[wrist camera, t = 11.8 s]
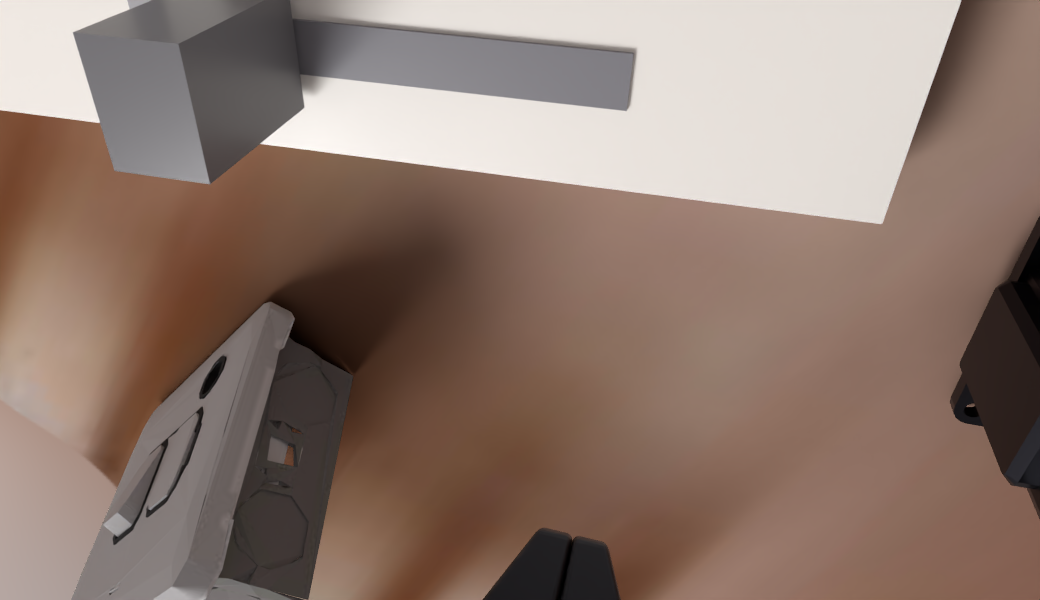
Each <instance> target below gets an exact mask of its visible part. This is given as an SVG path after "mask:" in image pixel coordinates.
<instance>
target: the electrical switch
mask: <svg viewBox="0 0 1040 600" xmlns="http://www.w3.org/2000/svg"><path fill="white" fill-rule="evenodd" d="M294 320H295V318H294V316H293V314H292V312H290V311H288V310H286V309H284V308H282V307H280V306H278V305H276V304H274V303H272V302H268V303H264V304H263V305H262V306H261V307H260V308H259V309H258V310H257V311H256V312H255V313H254V314H253V315H252V316H251V317H250V318H249V319H248V320H247V321H246V322H245V323H244V324H243V325H242V326H240V327H239V328H238V329H237V330H236V331H235V332H234V333H233V334H232V335H231V336H230V337H229V338H228V339H227V340H226V341H225V342H224V343H223V344H222V345H221V346H220V347H219V348H218V349H217V350H216V351H215V352H214V353H213V354H212V355H211V356H210V357H209V358H208V359H207V360H206V361H205V362H204V363H203V364H202V365H201V366H200V367H199V368H198V369H197V370H196V371H195V372H194V373H193V374H192V375H191V376H190V377H188V378H187V379H186V380H185V381H184V382H183V383H182V384H181V385H180V386H179V387H178V388H177V389H176V390H175V391H174V392H173V393H172V394H171V395H170V396H169V397H168V398H167V399H166V400H165V401H164V402H163V403H162V404H161V405H160V406H159V407H158V408H157V409H156V410H155V411H154V412H153V414H152V415H151V417H150V419H149V420H148V422H147V424H146V425H145V427H144V429H143V431H142V433H141V436H140V438H139V440H138V442H137V444H136V446H135V449H134V451H133V453H132V455H131V458H130V460H129V462H128V465H127V467H126V469H125V472H124V474H123V477H122V479H121V481H120V484H119V486H118V488H117V491H116V493H115V496H114V498H113V501H112V503H111V505H110V508H109V510H108V512H107V515H106V517H105V520H104V522H103V524H102V526H101V529H100V531H99V534H98V536H97V538H96V541H95V543H94V545H93V548H92V550H91V553H90V555H89V557H88V560H87V562H86V564H85V567H84V569H83V572H82V574H81V576H80V579H79V582H78V584H77V587H76V590H75V592H74V594H73V597H72V600H303V599H307V600H308V598H309V593H310V588H311V583H312V579H313V574H314V569H315V564H316V559H317V554H318V549H319V544H320V539H321V534H322V529H323V524H324V519H325V514H326V509H327V504H328V499H329V494H330V489H331V484H332V479H333V474H334V469H335V464H336V459H337V455H338V450H339V445H340V440H341V435H342V430H343V425H344V420H345V415H346V410H347V405H348V400H349V395H350V390H351V385H352V380H353V376H352V375H350V374H349V373H347V372H345V371H343V370H341V369H340V368H338V367H336V366H334V365H332V364H330V363H328V362H326V361H324V360H323V359H321V358H320V357H319V356H318V355H316V354H315V353H314V352H313V351H312V350H310V349H308V348H306V347H304V346H302V345H300V344H297V343H295V342H294V341H293V340H292V339H291V338H290V337H288V336H289V333H290V331H291V328H292V325H293V322H294ZM330 420H331V421H330ZM292 428H295V429H296V430H298V431H299V432H301V433H302V434H299V433H294V432H292ZM288 445H289V446H291V447H292V448H293V451H294V466H289V465H285V464H284V460H285V456H286V452H287V448H288ZM300 556H301V557H300ZM297 558H298V559H297ZM271 590H272V591H271ZM275 591H276V592H275ZM278 592H280V593H278ZM282 593H283V594H282ZM285 594H287V595H285ZM289 595H291V596H289ZM292 596H295V597H292ZM296 597H299V598H303V599H299V598H296Z"/></svg>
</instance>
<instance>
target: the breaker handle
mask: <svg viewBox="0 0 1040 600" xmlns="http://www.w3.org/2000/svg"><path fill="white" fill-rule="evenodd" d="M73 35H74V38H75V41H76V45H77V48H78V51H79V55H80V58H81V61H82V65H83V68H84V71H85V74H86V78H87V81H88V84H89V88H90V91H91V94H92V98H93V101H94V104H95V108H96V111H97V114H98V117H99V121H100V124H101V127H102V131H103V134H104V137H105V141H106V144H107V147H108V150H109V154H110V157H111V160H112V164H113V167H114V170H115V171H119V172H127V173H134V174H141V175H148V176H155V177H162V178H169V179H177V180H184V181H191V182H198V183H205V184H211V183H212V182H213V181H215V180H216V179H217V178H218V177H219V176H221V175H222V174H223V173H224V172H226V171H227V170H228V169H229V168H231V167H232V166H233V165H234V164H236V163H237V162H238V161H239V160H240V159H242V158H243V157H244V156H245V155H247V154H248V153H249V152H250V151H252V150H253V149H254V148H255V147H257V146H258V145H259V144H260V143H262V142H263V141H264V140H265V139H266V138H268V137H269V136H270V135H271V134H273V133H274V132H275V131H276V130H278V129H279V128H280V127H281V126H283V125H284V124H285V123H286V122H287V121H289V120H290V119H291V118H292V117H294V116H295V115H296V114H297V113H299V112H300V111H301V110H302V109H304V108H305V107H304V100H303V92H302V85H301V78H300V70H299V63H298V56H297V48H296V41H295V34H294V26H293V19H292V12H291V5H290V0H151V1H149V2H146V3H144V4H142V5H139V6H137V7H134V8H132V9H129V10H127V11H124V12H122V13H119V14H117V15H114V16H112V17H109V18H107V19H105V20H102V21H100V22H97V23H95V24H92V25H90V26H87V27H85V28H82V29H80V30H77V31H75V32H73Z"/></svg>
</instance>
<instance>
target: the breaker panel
mask: <svg viewBox="0 0 1040 600" xmlns="http://www.w3.org/2000/svg"><path fill="white" fill-rule="evenodd" d="M149 1H151V0H0V110H4V111H12V112H20V113H27V114H35V115H43V116H50V117H58V118H66V119H74V120H81V121H89V122H97V123H100V121H99V117H98V114H97V111H96V108H95V104H94V101H93V98H92V94H91V91H90V88H89V84H88V81H87V78H86V74H85V71H84V68H83V65H82V61H81V58H80V55H79V51H78V48H77V45H76V41H75V38H74V35H73V32H75V31H77V30H80V29H82V28H85V27H87V26H90V25H92V24H95V23H97V22H100V21H102V20H105V19H107V18H109V17H112V16H114V15H117V14H119V13H122V12H124V11H127V10H129V9H132V8H134V7H137V6H139V5H142V4H144V3H146V2H149ZM960 3H961V0H290V5H291V12H292V19H293V26H294V34H295V41H296V48H297V56H298V63H299V70H300V78H301V85H302V92H303V100H304V107H305V108H304V109H302V110H301V111H300V112H299V113H297V114H296V115H295V116H294V117H292V118H291V119H290V120H289V121H287V122H286V123H285V124H284V125H283V126H281V127H280V128H279V129H278V130H276V131H275V132H274V133H273V134H271V135H270V136H269V137H268V138H266V139H265V140H264V141H263V142H262V143H260V144H267V145H274V146H282V147H290V148H298V149H305V150H313V151H321V152H328V153H336V154H344V155H352V156H359V157H367V158H375V159H383V160H390V161H398V162H406V163H413V164H421V165H429V166H437V167H444V168H452V169H460V170H468V171H475V172H483V173H491V174H498V175H506V176H514V177H522V178H529V179H537V180H545V181H553V182H560V183H568V184H576V185H583V186H591V187H599V188H607V189H614V190H622V191H630V192H637V193H645V194H653V195H661V196H668V197H676V198H684V199H692V200H699V201H707V202H715V203H722V204H730V205H738V206H746V207H753V208H761V209H769V210H777V211H784V212H792V213H800V214H807V215H815V216H823V217H831V218H838V219H846V220H854V221H861V222H869V223H877V224H882V223H883V220H884V217H885V214H886V211H887V209H888V206H889V203H890V200H891V197H892V195H893V192H894V189H895V186H896V183H897V180H898V178H899V175H900V172H901V169H902V166H903V164H904V161H905V158H906V155H907V152H908V150H909V147H910V144H911V141H912V138H913V135H914V133H915V130H916V127H917V124H918V121H919V119H920V116H921V113H922V110H923V107H924V104H925V102H926V99H927V96H928V93H929V90H930V88H931V85H932V82H933V79H934V76H935V73H936V71H937V68H938V65H939V62H940V59H941V57H942V54H943V51H944V48H945V45H946V42H947V40H948V37H949V34H950V31H951V28H952V26H953V23H954V20H955V17H956V14H957V12H958V9H959V6H960Z"/></svg>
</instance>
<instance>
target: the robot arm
mask: <svg viewBox="0 0 1040 600" xmlns="http://www.w3.org/2000/svg"><path fill="white" fill-rule="evenodd" d="M960 368H961V370H962V375H961V377H960V380H959V382H958V384H957V386H956V388H955V390H954V392H953V394H952V396H951V400H950V404H951V407H952V409H953V412H954V415H955V417H956V418H957V419H958V420H959V421H961V422H964V423H967V424H972V425H978V426H984V429H985V431H986V434H987V437H988V439H989V442H990V444H991V447H992V449H993V452H994V454H995V457H996V459H997V462H998V465H999V467H1000V470H1001V472H1002V474H1003V475H1004V477H1005V478H1006V479H1007V481H1008V482H1009V483H1010V485H1012V486H1018V487H1024V488H1027V490H1028V492H1029V495H1030V497H1031V500H1032V502H1033V504H1034V507H1035V509H1036V512H1037V514H1038V516H1039V519H1040V217H1039V218H1038V220H1037V222H1036V224H1035V226H1034V228H1033V230H1032V232H1031V234H1030V237H1029V239H1028V241H1027V243H1026V245H1025V247H1024V249H1023V251H1022V253H1021V255H1020V257H1019V259H1018V261H1017V263H1016V265H1015V267H1014V269H1013V271H1012V273H1011V275H1010V277H1009V279H1008V280H1007V281H1005V282H1003V283H1002V284H1000V285H999V286H998V287H996V288H995V290H994V292H993V294H992V296H991V299H990V301H989V303H988V305H987V307H986V309H985V311H984V313H983V315H982V317H981V319H980V321H979V323H978V326H977V328H976V330H975V332H974V334H973V336H972V338H971V340H970V342H969V344H968V346H967V348H966V351H965V353H964V355H963V357H962V359H961V361H960ZM971 403H975V406H974V407H966V406H967V405H969V404H971ZM483 600H621V599H620V595H619V591H618V586H617V582H616V578H615V574H614V570H613V565H612V561H611V557H610V553H609V549H608V547H607V545H606V544H605V543H604V542H602V541H598V540H594V539H590V538H585V537H581V536H577V537H575V538H574V539H573V541H572V537H571V536H570V535H569V534H568V533H564V532H560V531H556V530H552V529H548V528H541V529H539V530H538V531H537V532H536V533H535V534H534V535H533V537H532V538H531V539H530V540H529V542H528V543H527V544H526V545H525V547H524V548H523V549H522V550H521V552H520V553H519V554H518V556H517V557H516V558H515V559H514V561H513V562H512V563H511V564H510V566H509V567H508V568H507V570H506V571H505V572H504V573H503V575H502V576H501V577H500V578H499V580H498V581H497V582H496V583H495V585H494V586H493V587H492V589H491V590H490V591H489V592H488V594H487V595H486V596H485V597H484V599H483Z"/></svg>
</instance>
